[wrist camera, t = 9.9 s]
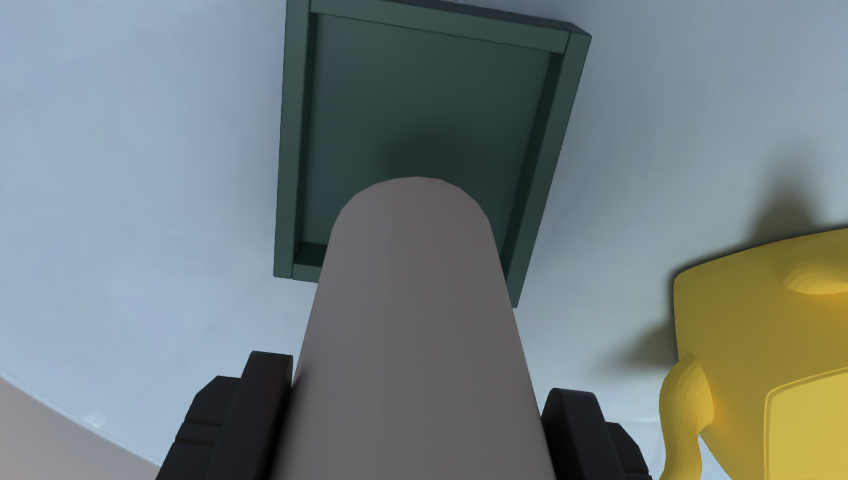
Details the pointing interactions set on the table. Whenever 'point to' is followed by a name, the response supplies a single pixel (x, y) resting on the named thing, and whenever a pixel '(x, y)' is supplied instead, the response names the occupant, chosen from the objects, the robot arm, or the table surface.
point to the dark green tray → (420, 116)
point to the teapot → (762, 363)
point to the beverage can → (412, 350)
